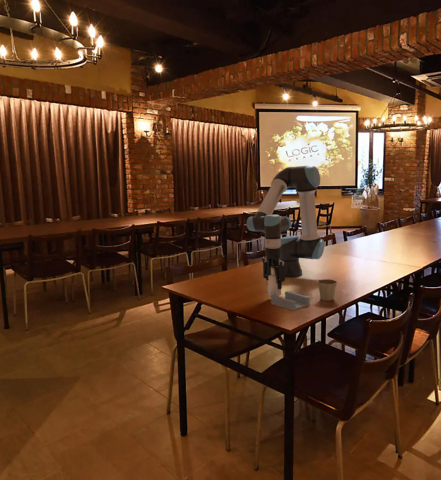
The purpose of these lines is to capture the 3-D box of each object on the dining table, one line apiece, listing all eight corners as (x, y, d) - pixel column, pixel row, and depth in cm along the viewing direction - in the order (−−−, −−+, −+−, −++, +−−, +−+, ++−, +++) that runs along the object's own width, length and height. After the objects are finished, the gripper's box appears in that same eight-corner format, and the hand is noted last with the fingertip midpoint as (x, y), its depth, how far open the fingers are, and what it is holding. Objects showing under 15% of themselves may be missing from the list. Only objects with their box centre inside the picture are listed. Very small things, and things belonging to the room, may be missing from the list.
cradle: (271, 303, 186) (270, 295, 185) (287, 298, 192) (287, 290, 192) (292, 310, 175) (292, 302, 174) (309, 304, 181) (309, 296, 180)
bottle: (266, 295, 192) (265, 266, 190) (274, 293, 195) (273, 264, 193) (274, 297, 188) (273, 268, 186) (281, 295, 191) (281, 266, 189)
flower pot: (333, 295, 193) (333, 278, 192) (340, 301, 184) (340, 283, 182) (314, 296, 193) (314, 279, 191) (320, 302, 183) (320, 284, 182)
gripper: (254, 246, 193) (256, 291, 197) (280, 250, 178) (282, 299, 182) (265, 244, 197) (267, 288, 201) (292, 248, 183) (293, 296, 186)
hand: (274, 293), depth 191 cm, fingers closed on bottle, 5 cm apart
